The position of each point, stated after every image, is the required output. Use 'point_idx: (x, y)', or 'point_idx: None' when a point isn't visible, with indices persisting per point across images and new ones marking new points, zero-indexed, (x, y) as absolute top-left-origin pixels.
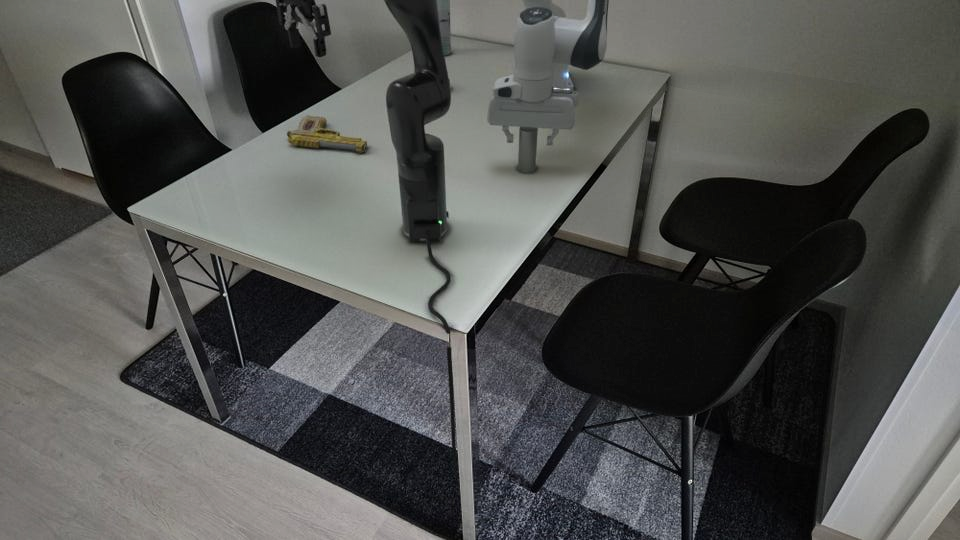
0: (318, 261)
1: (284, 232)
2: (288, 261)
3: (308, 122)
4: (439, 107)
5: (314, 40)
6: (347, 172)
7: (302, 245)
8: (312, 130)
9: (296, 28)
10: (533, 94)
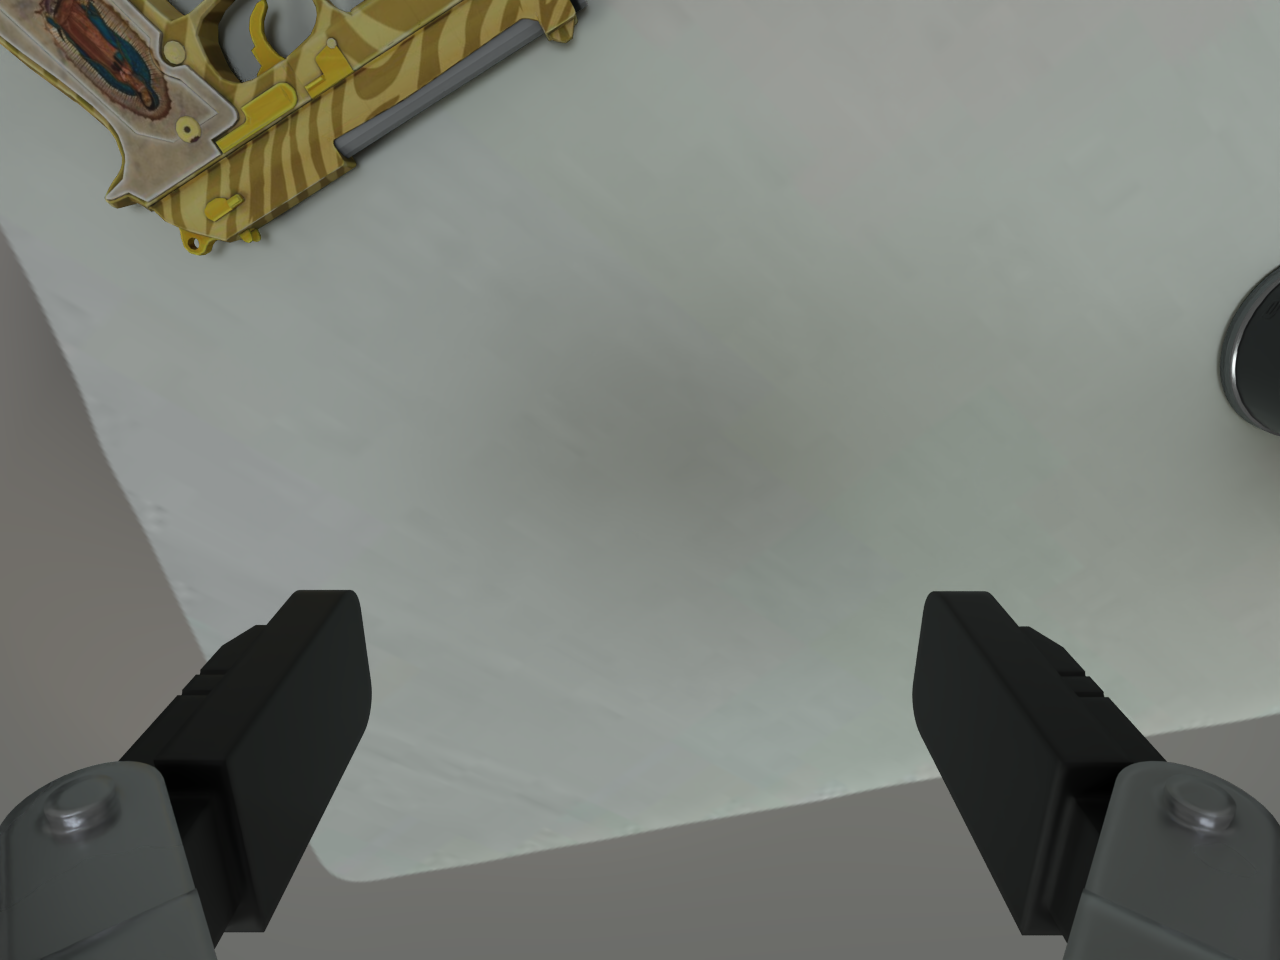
0: None
1: (839, 681)
2: None
3: (66, 26)
4: None
5: (1049, 915)
6: (677, 229)
7: None
8: (193, 89)
9: (176, 771)
10: None
